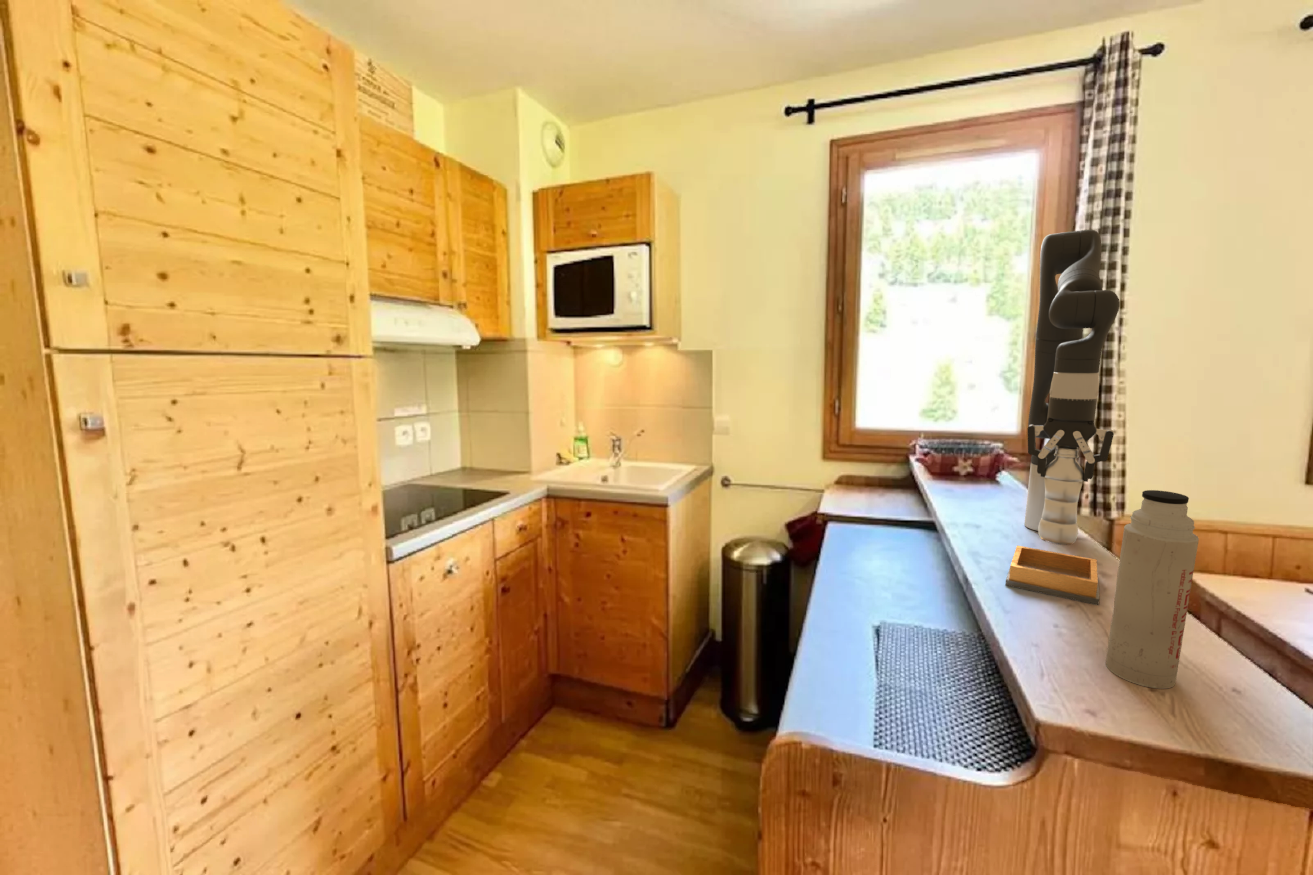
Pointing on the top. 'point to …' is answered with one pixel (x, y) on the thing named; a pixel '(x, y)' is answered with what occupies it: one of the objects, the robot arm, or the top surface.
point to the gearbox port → (1054, 574)
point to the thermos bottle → (1152, 591)
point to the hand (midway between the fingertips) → (1063, 478)
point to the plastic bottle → (1061, 497)
